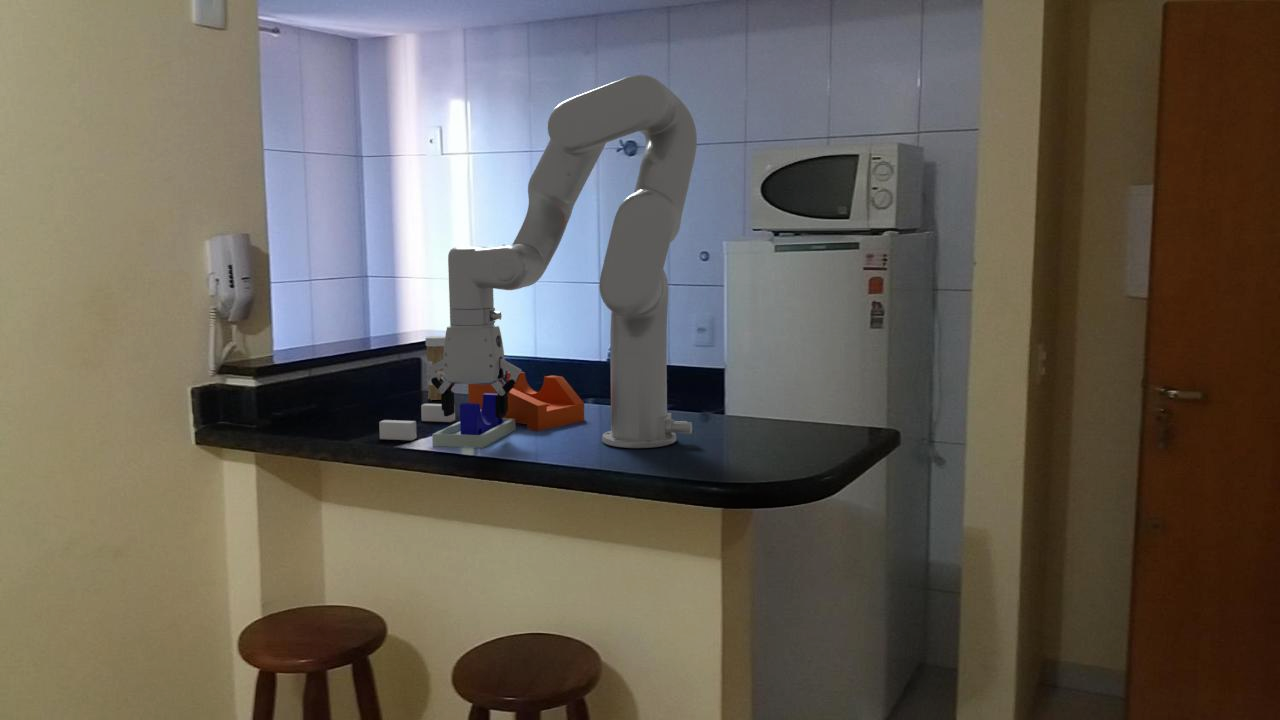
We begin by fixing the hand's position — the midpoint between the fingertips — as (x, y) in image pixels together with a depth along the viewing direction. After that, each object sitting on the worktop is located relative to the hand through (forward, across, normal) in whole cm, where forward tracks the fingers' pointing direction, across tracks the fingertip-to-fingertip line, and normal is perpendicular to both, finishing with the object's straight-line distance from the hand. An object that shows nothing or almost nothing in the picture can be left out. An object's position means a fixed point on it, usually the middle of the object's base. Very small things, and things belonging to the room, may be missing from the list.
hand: (474, 415), depth 186 cm
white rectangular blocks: (+4, +13, -5) cm, 14 cm away
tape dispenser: (+4, -3, -17) cm, 18 cm away
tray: (+4, 0, 0) cm, 4 cm away
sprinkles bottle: (+4, +23, -36) cm, 43 cm away
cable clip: (+3, 0, 0) cm, 3 cm away
